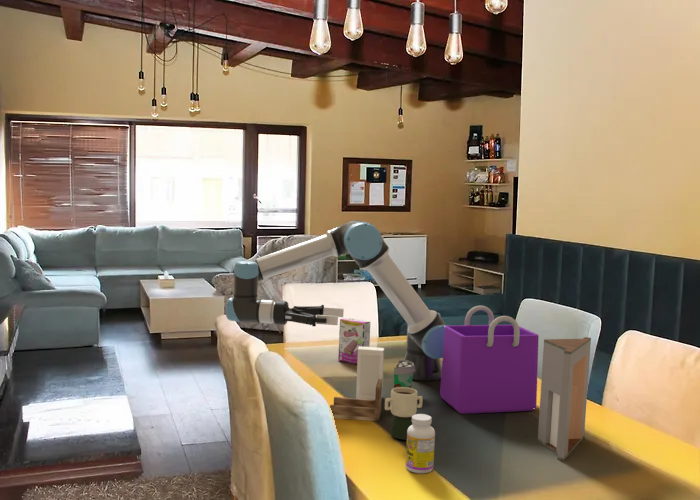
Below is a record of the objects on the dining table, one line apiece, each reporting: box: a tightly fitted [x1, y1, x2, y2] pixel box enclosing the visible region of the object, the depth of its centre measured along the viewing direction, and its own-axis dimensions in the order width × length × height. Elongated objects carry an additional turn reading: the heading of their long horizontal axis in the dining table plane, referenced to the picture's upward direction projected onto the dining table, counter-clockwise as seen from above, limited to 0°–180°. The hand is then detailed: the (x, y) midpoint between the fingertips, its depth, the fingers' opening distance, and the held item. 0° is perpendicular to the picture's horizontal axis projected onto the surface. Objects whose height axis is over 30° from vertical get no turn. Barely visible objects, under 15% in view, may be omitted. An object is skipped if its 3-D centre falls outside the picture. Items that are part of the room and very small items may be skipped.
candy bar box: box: [337, 317, 371, 365], centre depth 265 cm, size 11×5×16 cm, turn 58°
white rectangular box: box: [355, 346, 385, 401], centre depth 221 cm, size 8×4×16 cm, turn 83°
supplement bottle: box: [405, 413, 436, 475], centre depth 167 cm, size 7×7×13 cm
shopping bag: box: [439, 305, 539, 415], centre depth 218 cm, size 28×22×30 cm
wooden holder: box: [329, 379, 383, 422], centre depth 205 cm, size 14×9×10 cm, turn 83°
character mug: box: [384, 387, 424, 441], centre depth 187 cm, size 11×7×13 cm, turn 108°
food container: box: [393, 358, 415, 388], centre depth 227 cm, size 12×6×10 cm, turn 168°
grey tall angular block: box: [537, 336, 592, 462], centre depth 186 cm, size 21×10×28 cm, turn 148°
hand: (340, 316), depth 221 cm, fingers open, 13 cm apart
